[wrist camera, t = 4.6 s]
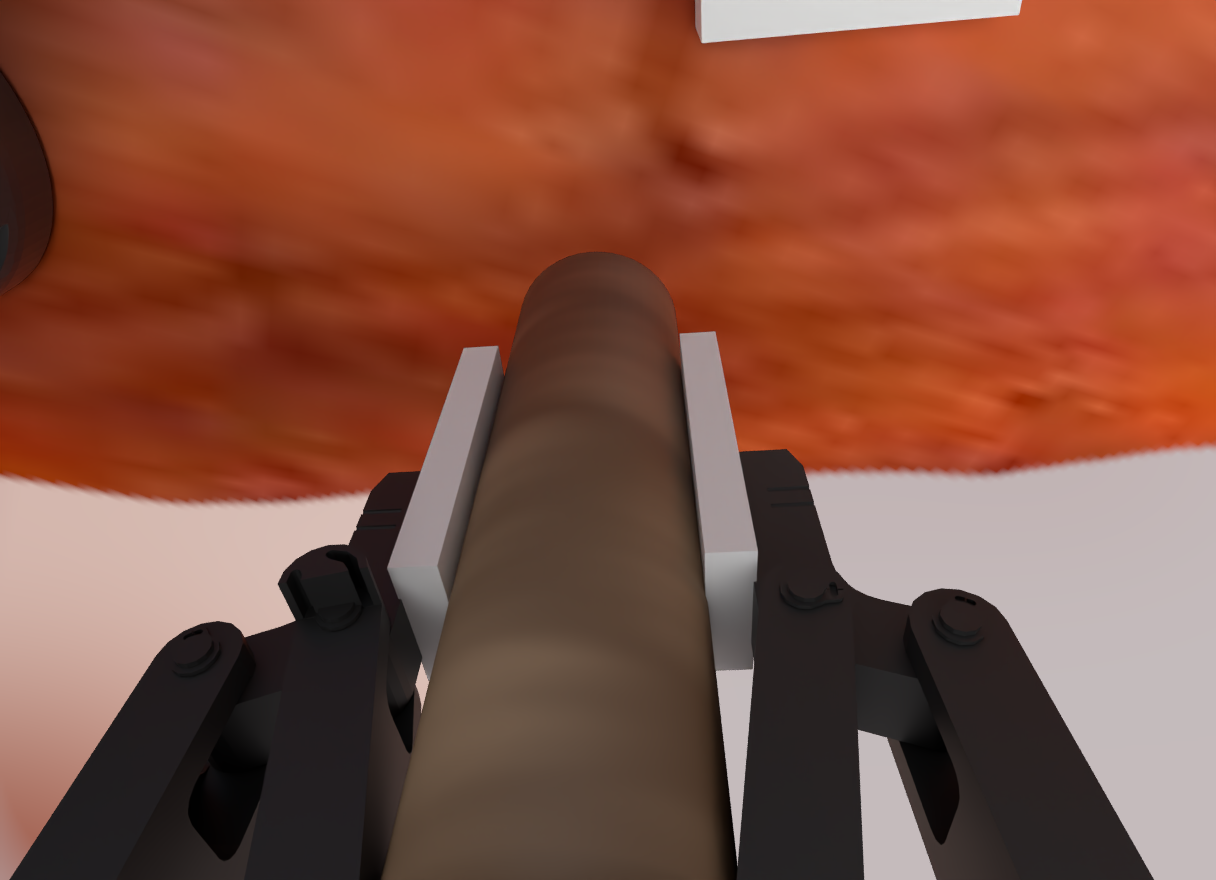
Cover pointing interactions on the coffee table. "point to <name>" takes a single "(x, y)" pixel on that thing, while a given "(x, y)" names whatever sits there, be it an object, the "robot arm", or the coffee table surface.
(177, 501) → the coffee table surface
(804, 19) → the station
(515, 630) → the peg
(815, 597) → the robot arm
